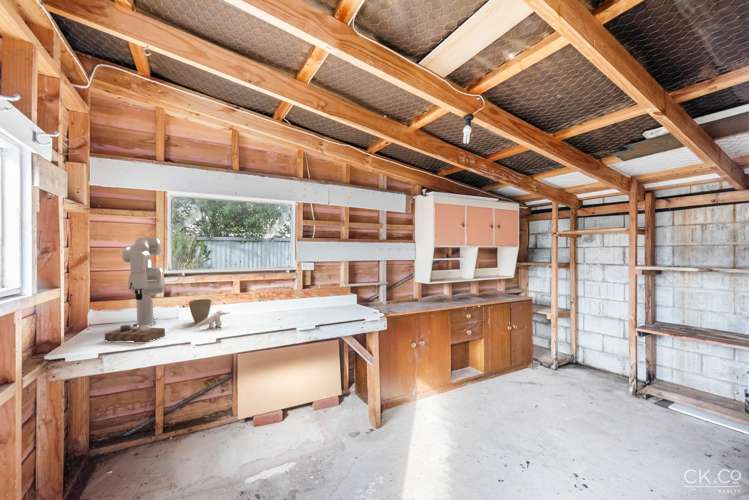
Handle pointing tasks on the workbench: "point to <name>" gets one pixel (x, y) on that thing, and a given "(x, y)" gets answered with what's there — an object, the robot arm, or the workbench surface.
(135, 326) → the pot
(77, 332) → the workbench surface
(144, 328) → the ivory knob
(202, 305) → the plant pot
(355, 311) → the workbench surface
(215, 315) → the white dinosaur figurine
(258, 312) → the workbench surface
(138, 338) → the mount
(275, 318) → the workbench surface
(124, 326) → the black knob
